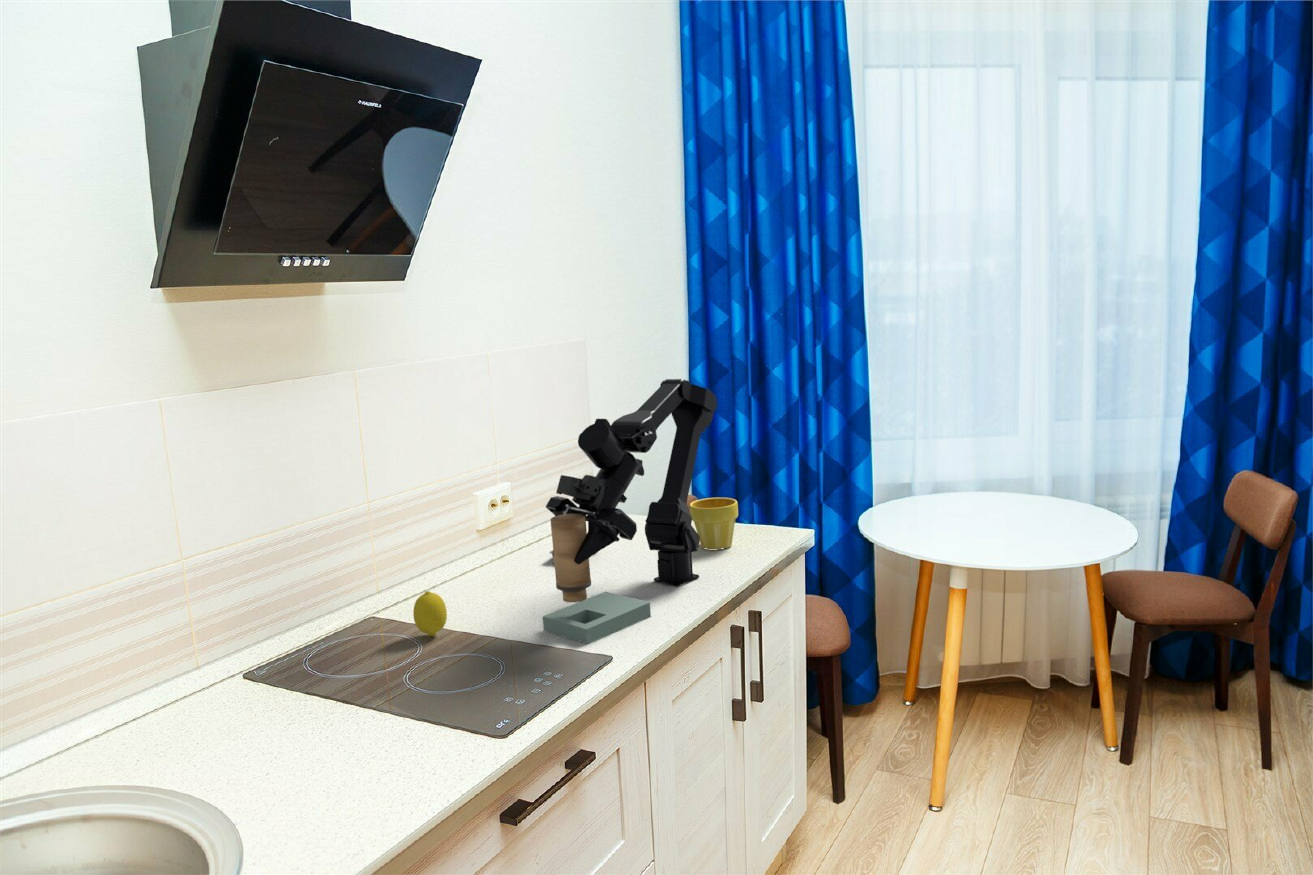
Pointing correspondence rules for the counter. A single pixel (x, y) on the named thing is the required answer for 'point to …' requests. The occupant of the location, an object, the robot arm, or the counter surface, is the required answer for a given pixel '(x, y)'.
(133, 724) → the counter surface
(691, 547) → the robot arm
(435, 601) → the lemon
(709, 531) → the plant pot
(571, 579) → the peg
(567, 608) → the board
